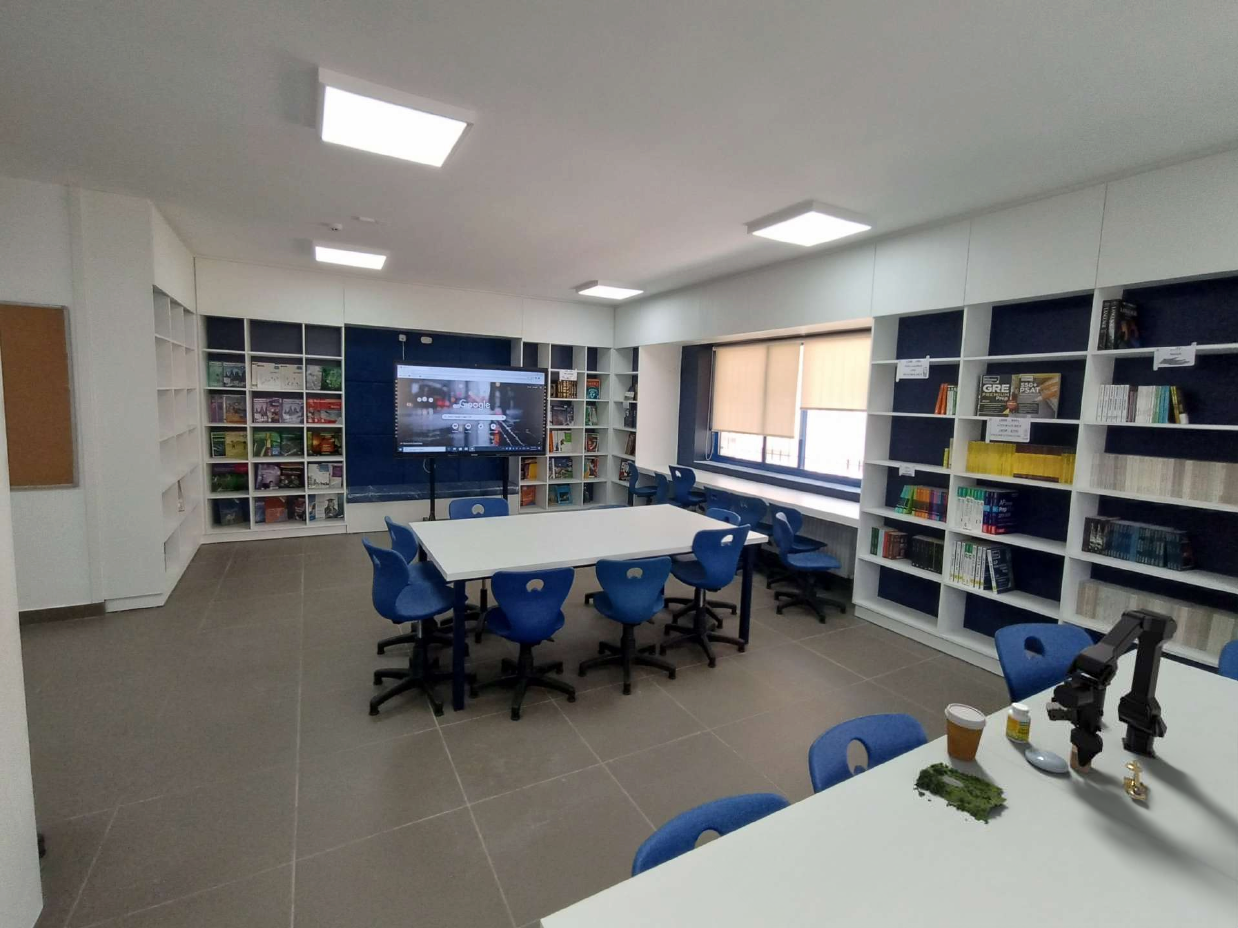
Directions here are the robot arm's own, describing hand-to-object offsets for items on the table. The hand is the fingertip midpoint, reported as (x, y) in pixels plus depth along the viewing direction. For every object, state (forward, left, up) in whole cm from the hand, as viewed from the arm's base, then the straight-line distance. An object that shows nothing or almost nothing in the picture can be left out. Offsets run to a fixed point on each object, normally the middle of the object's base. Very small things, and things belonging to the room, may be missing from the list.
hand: (1081, 757), depth 148 cm
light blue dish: (+5, -7, -2) cm, 9 cm away
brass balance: (+2, +11, -2) cm, 11 cm away
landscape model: (+34, -23, -3) cm, 41 cm away
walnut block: (0, 0, -2) cm, 3 cm away
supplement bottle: (-4, -14, -3) cm, 15 cm away
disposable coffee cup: (+16, -25, -3) cm, 30 cm away
